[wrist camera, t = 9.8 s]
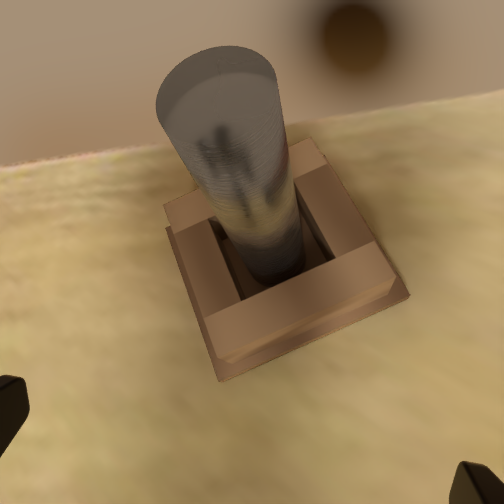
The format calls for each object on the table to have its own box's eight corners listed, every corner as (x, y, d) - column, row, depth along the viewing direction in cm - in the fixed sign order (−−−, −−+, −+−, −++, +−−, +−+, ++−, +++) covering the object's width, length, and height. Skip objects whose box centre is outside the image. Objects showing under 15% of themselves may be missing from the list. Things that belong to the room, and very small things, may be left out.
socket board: (222, 382, 21) (200, 376, 18) (170, 233, 25) (144, 205, 22) (407, 298, 21) (422, 277, 18) (324, 162, 25) (323, 122, 22)
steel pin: (278, 299, 22) (213, 167, 10) (235, 262, 23) (132, 106, 11) (318, 255, 22) (304, 78, 10) (274, 221, 23) (216, 29, 12)
